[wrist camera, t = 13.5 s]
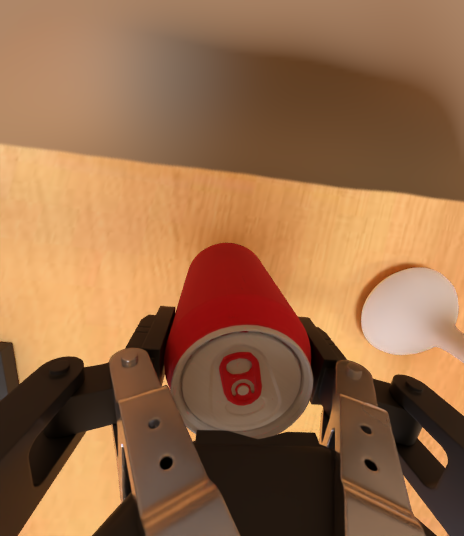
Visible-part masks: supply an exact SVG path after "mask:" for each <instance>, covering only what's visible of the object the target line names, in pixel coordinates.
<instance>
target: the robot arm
mask: <svg viewBox="0 0 464 536" xmlns="http://www.w3.org/2000/svg"><path fill="white" fill-rule="evenodd" d="M174 316H175V307H167V306H160V308H159V310H158V312H157V314H156V315H147V316H146V317H145V318H143V319H142V320H141V321H140V323H139V325H138V327H137V328H136V330H135V332H134V334H133V335H132V337H131V339H130V341H129V343H128V344H127V346H126V348H125V349H123V350H121V351H118V352H117V353H115V354H114V355H113V356H112V357H111V358H110V360H109V362H108V363H105V364H101V365H96V366H90V367H84V363H83V361H82V360H81V359H79V358H77V357H61V358H57V359H54V360H51V361H49V362H47V363H45V364H43V365H42V366H41V367H39V368H38V369H37V370H36V371H35V372H33V373H32V374H31V375H30V376H29V377H28V378H26V379H25V380H24V381H23V382H22V383H21V384H19V385H18V386H17V387H16V388H15V389H13V390H12V391H11V392H10V393H9V394H8V395H6V396H5V397H4V398H3V399H2V400H1V401H0V536H18V534H19V533H20V531H21V530H22V528H23V527H24V525H25V524H26V522H27V521H28V519H29V518H30V516H31V515H32V513H33V512H34V510H35V508H36V507H37V505H38V504H39V502H40V501H41V499H42V498H43V496H44V495H45V493H46V492H47V490H48V489H49V487H50V486H51V484H52V483H53V481H54V480H55V478H56V477H57V475H58V474H59V472H60V471H61V469H62V468H63V466H64V464H65V463H66V461H67V460H68V458H69V457H70V455H71V454H72V452H73V451H74V449H75V448H76V446H77V445H78V443H79V442H80V440H81V439H82V437H83V436H84V434H85V432H86V431H88V430H92V429H96V428H100V427H104V426H107V425H111V426H112V432H113V439H114V446H115V453H116V460H117V467H118V477H119V489H120V498H121V504H120V505H119V506H118V507H117V509H116V510H115V511H114V512H113V513H112V514H111V515H110V516H109V517H108V519H107V520H106V521H105V522H104V523H103V524H102V525H101V526H100V527H99V528H98V530H97V531H96V532H95V533H94V534H93V535H92V536H436V535H435V534H434V533H433V532H432V531H431V530H430V529H428V528H427V527H426V526H425V525H424V524H423V523H422V522H420V521H419V520H418V519H417V518H416V517H415V516H414V515H413V512H412V510H411V506H410V502H409V498H408V493H407V489H406V485H405V481H404V477H403V475H404V476H405V478H406V479H407V480H408V482H409V483H410V484H411V486H412V487H413V488H414V490H415V491H416V492H417V494H418V495H419V496H420V497H421V499H422V500H423V501H424V503H425V504H426V505H427V507H428V508H429V509H430V511H431V512H432V513H433V515H434V516H435V517H436V519H437V520H438V521H439V522H440V524H441V525H442V526H443V528H444V529H445V530H446V532H447V533H448V534H449V536H464V416H463V415H462V414H461V413H459V412H458V411H457V410H456V409H454V408H453V407H452V406H451V405H450V404H448V403H447V402H446V401H445V400H443V399H442V398H441V397H440V396H439V395H437V394H436V393H435V392H434V391H433V390H431V389H430V388H429V387H428V386H426V385H425V384H424V383H422V382H420V381H419V380H417V379H415V378H412V377H409V376H406V375H395V376H394V377H393V380H392V382H391V384H390V383H387V382H383V381H379V380H376V379H373V378H372V375H371V373H370V372H369V371H368V370H367V369H366V368H364V367H363V366H361V365H360V364H358V363H355V362H353V361H349V360H347V359H346V358H345V356H344V355H343V354H342V353H341V351H340V350H339V349H338V348H337V346H335V344H334V342H333V341H332V340H331V339H330V337H329V336H328V335H327V334H326V333H325V332H324V331H323V330H321V329H320V328H318V327H316V326H315V325H314V324H313V322H312V321H311V320H310V318H308V317H298V318H299V320H300V321H301V323H302V324H303V326H304V328H305V330H306V332H307V335H308V338H309V342H310V347H311V369H312V374H313V390H312V395H311V398H310V402H311V404H318V405H322V406H323V410H322V413H321V422H320V435H319V441H318V439H317V436H316V434H315V433H306V432H285V433H281V434H278V435H274V436H270V437H266V438H262V439H256V438H252V437H249V436H245V435H241V434H238V433H234V432H230V431H224V430H197V432H196V441H193V442H192V439H191V437H190V435H189V433H188V430H187V428H186V426H185V423H184V421H183V419H182V417H181V414H180V412H179V410H178V407H177V405H176V403H175V401H174V398H173V396H172V394H171V391H170V389H169V387H168V386H167V385H165V386H162V383H163V379H164V375H165V370H164V353H165V347H166V343H167V340H168V336H169V333H170V330H171V326H172V323H173V320H174ZM422 427H423V428H424V429H425V430H426V431H427V432H428V433H429V434H430V435H431V436H432V437H433V438H434V439H435V440H436V441H437V442H438V443H439V444H440V445H441V446H442V447H443V449H444V450H445V452H446V454H447V457H448V464H447V466H446V468H444V466H443V465H442V464H441V463H440V462H439V461H438V460H437V459H436V458H435V457H434V456H433V455H432V454H431V452H430V451H429V450H428V449H427V448H426V447H425V446H424V445H423V444H422V443H421V442H420V441H419V440H418V435H419V433H420V431H421V429H422Z"/></svg>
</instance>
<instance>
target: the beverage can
mask: <svg viewBox="0 0 464 536" xmlns="http://www.w3.org/2000/svg"><path fill="white" fill-rule="evenodd" d="M164 370H165V375H166V380H167V383H168V386H169V388H170V391H171V394H172V396H173V398H174V401H175V403H176V405H177V407H178V410H179V412H180V414H181V417H182V419H183V421H184V423H185V426H186V427H187V428H188V429H189V430H191V431H192V432H193V433H195V434H196V432H197V430H224V431H230V432H234V433H238V434H241V435H245V436H249V437H252V438H256V439H262V438H266V437H270V436H274V435H277V434H279V433H281V432H282V431H284V430H285V429H287V428H288V427H289V426H291V425H292V424H293V423H294V422H295V421H296V420H297V419H298V418H299V417H300V416H301V414H302V413H303V412H304V410H305V409H306V407H307V405H308V403H309V401H310V398H311V395H312V390H313V374H312V369H311V347H310V342H309V338H308V335H307V332H306V330H305V328H304V326H303V324H302V323H301V321H300V320H299V318H298V317H297V315H296V314H295V312H294V311H293V309H292V308H291V306H290V305H289V303H288V302H287V300H286V299H285V297H284V296H283V294H282V293H281V291H280V290H279V288H278V287H277V285H276V284H275V282H274V281H273V279H272V278H271V276H270V275H269V274H268V272H267V271H266V269H265V268H264V266H263V265H262V263H261V262H260V260H259V259H258V257H257V256H256V255H255V254H254V253H253V252H252V251H250V250H249V249H247V248H246V247H244V246H241V245H238V244H234V243H220V244H215V245H212V246H210V247H208V248H206V249H204V250H203V251H201V252H200V253H199V254H198V255H197V256H196V257H195V258H194V260H193V261H192V263H191V265H190V267H189V270H188V273H187V276H186V280H185V283H184V286H183V290H182V293H181V296H180V300H179V303H178V306H177V310H176V313H175V316H174V320H173V323H172V326H171V330H170V333H169V336H168V340H167V343H166V347H165V353H164Z"/></svg>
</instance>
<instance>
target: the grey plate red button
mask: <svg viewBox="0 0 464 536" xmlns="http://www.w3.org/2000/svg"><path fill="white" fill-rule="evenodd" d="M18 385H19V382H18V376H17V370H16V364H15V358H14V352H13V346H12V343H4V342H0V401H1V400H2V399H3V398H4V397H5V396H6V395H8V394H9V393H10V392H11V391H12V390H13V389H15V388H16V387H17V386H18Z"/></svg>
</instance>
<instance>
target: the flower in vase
mask: <svg viewBox="0 0 464 536" xmlns="http://www.w3.org/2000/svg"><path fill="white" fill-rule="evenodd" d="M458 310H459V306H458V297H457V293H456V290H455V288H454V286H453V285H452V284H451V282H450V281H449V280H448V279H447V278H446V277H445V276H444V275H442V274H441V273H439V272H437V271H435V270H433V269H429V268H422V267H421V268H409V269H405V270H402V271H399V272H397V273H394V274H392V275H390V276H388V277H387V278H385V279H384V280H382V281H381V282H380V283H379V284H378V285H377V286H376V287H375V288H374V289H373V290H372V291H371V292H370V294H369V295H368V297H367V299H366V301H365V303H364V306H363V309H362V316H361V325H362V330H363V333H364V336H365V337H366V339H367V340H368V342H369V343H370V344H371V345H373V346H374V347H375V348H377V349H379V350H381V351H384V352H387V353H389V354H394V355H408V354H416V353H420V352H423V351H426V350H429V349H431V348H433V347H438V348H441V349H443V350H445V351H447V352H448V353H450V354H451V355H453V356H454V357H456V358H457V359H459V360H460V361H461V362H463V363H464V334H463V333H462V332H461V331H460V330H458V329H457V328H456V326H455V324H456V321H457V317H458Z"/></svg>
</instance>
